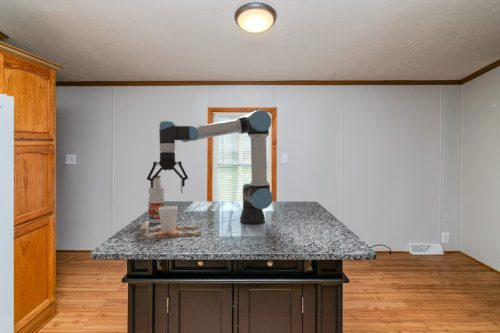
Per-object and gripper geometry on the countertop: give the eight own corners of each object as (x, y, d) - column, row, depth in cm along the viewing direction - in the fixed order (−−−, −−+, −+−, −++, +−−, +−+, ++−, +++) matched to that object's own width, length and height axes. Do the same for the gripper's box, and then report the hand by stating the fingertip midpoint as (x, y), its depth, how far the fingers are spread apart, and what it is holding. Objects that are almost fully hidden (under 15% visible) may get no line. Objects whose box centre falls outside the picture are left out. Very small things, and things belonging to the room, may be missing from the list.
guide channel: (198, 227, 164) (198, 218, 163) (201, 235, 149) (201, 225, 149) (143, 231, 156) (142, 222, 156) (140, 239, 142) (139, 229, 141)
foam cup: (155, 234, 150) (154, 208, 149) (166, 229, 158) (166, 205, 158) (170, 236, 146) (170, 209, 146) (181, 231, 155) (181, 206, 154)
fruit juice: (167, 221, 178) (167, 175, 177) (153, 224, 172) (152, 176, 171) (160, 219, 185) (160, 174, 184) (146, 221, 179) (145, 175, 178)
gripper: (191, 152, 157) (192, 191, 158) (142, 152, 151) (142, 193, 152) (192, 151, 150) (193, 193, 151) (140, 151, 144) (141, 195, 145)
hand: (168, 193), depth 151 cm, fingers open, 13 cm apart
